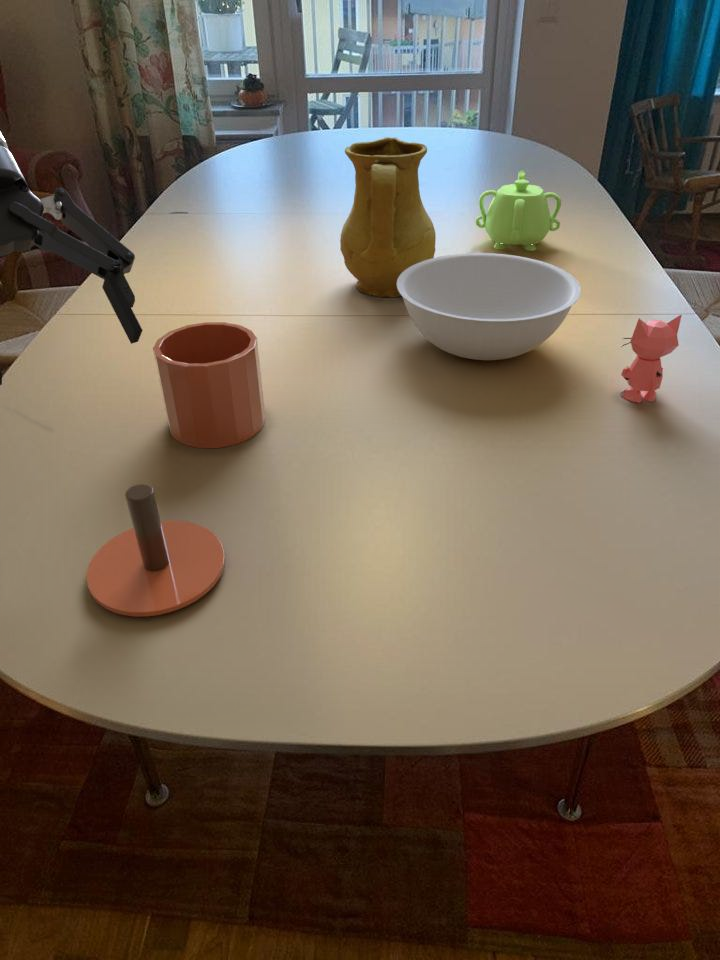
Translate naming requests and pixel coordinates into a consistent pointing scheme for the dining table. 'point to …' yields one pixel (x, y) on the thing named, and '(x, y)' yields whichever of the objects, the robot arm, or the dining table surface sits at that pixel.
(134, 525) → the lid
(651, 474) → the dining table surface
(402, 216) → the pitcher
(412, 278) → the bowl
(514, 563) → the dining table surface
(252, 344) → the jar
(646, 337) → the cat figurine
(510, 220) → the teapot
